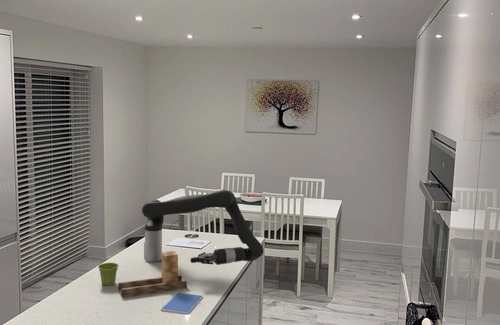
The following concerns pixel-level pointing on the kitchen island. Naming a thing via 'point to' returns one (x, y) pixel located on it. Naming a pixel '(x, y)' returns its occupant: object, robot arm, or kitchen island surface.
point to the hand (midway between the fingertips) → (191, 260)
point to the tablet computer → (182, 303)
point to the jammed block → (169, 267)
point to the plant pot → (108, 273)
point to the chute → (149, 286)
